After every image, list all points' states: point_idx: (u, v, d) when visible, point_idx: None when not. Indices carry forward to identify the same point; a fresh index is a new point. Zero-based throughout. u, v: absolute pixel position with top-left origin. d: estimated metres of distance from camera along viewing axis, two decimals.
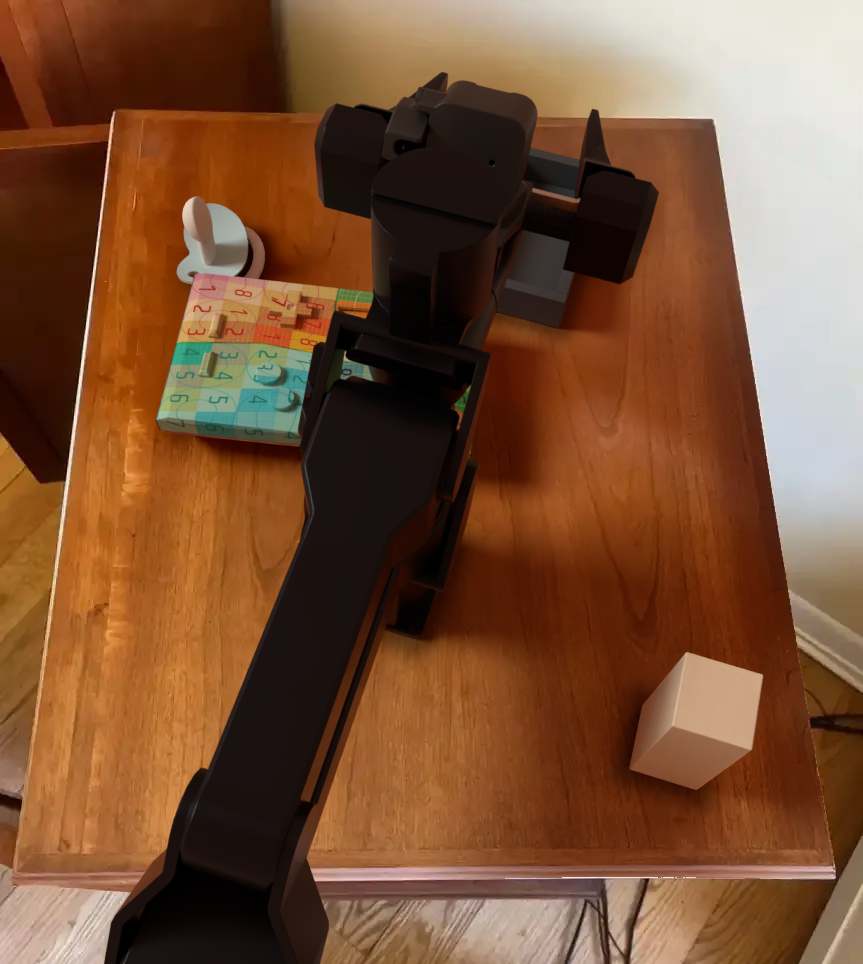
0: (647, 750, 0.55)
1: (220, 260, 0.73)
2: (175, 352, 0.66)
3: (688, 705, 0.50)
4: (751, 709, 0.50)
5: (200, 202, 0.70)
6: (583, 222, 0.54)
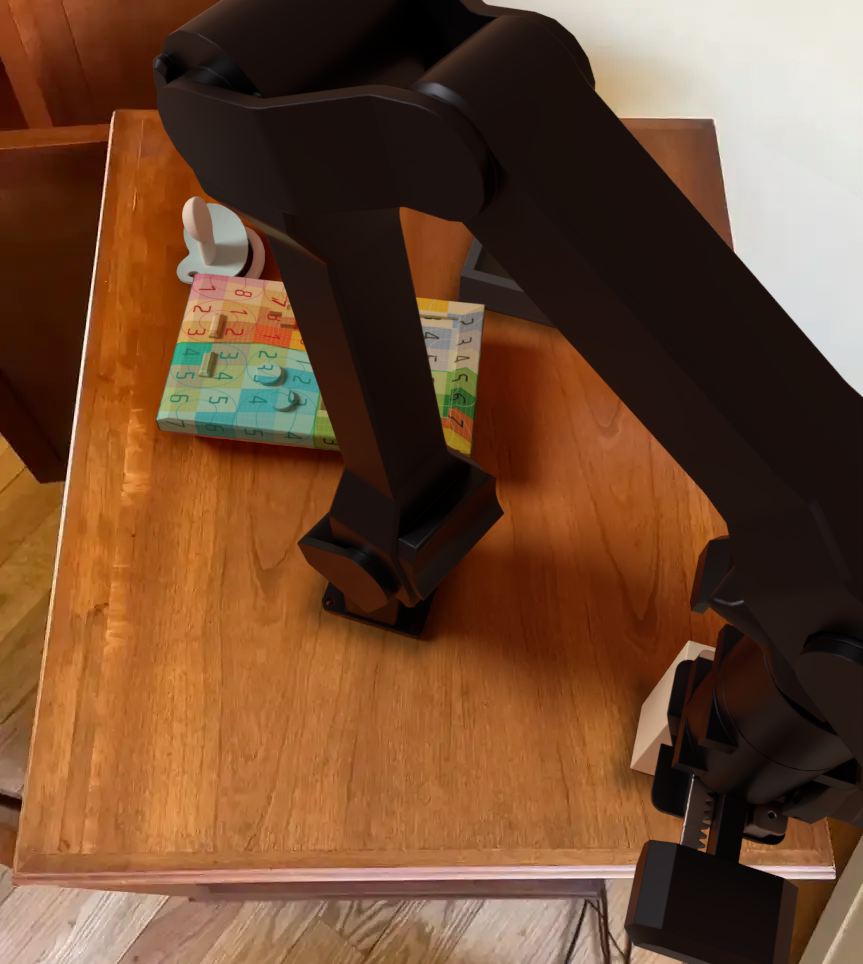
0: (649, 743, 0.55)
1: (220, 260, 0.73)
2: (175, 352, 0.66)
3: None
4: None
5: (200, 202, 0.70)
6: (774, 887, 0.40)
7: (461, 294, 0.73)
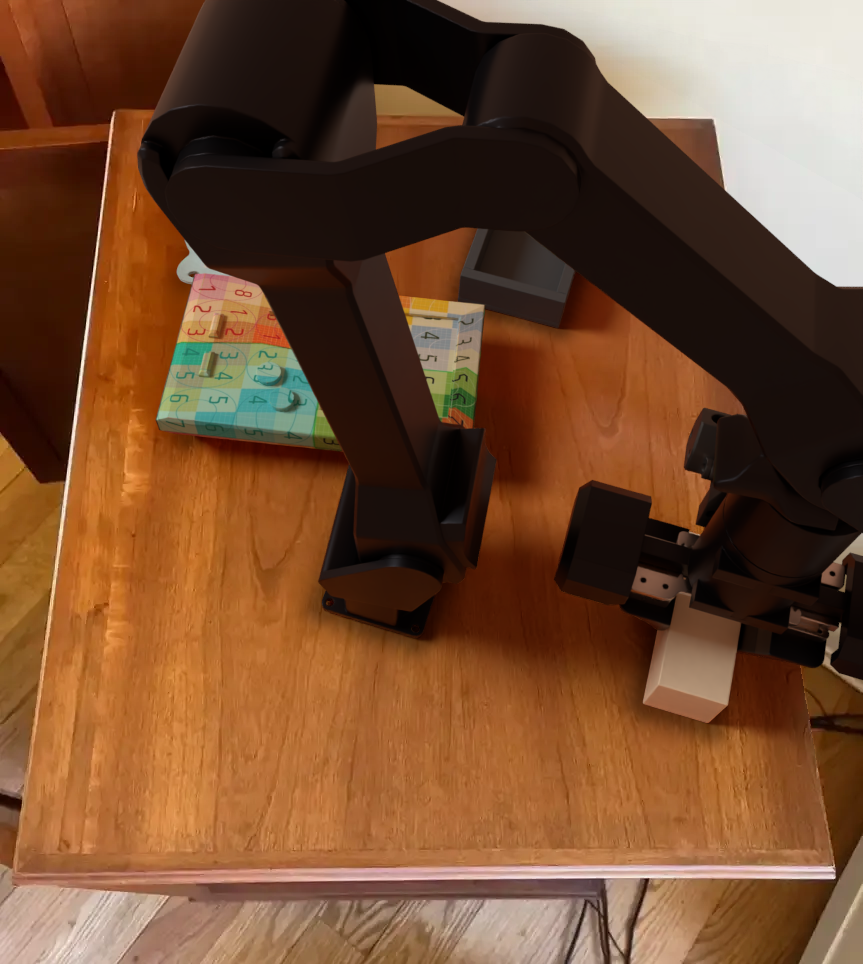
0: None
1: None
2: (175, 352, 0.66)
3: None
4: None
5: None
6: None
7: (461, 294, 0.73)
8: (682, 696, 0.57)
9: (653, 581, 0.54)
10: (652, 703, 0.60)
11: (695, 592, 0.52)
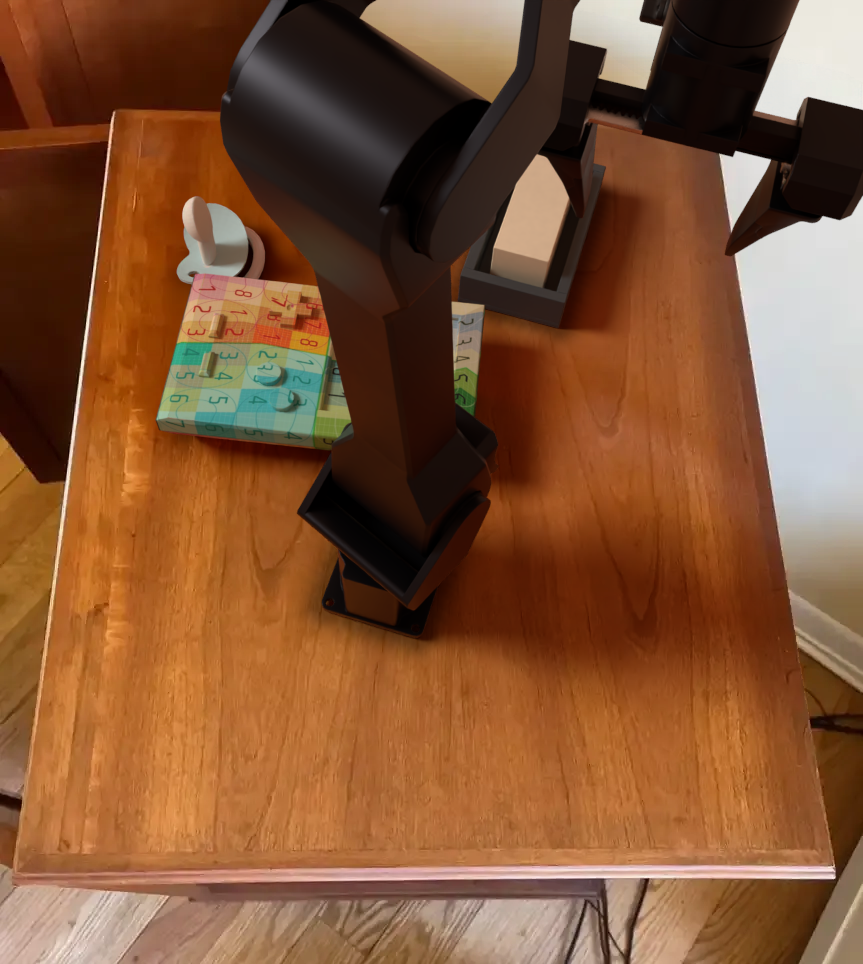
0: None
1: (220, 260, 0.73)
2: (175, 352, 0.66)
3: None
4: None
5: (200, 202, 0.70)
6: (816, 102, 0.53)
7: (461, 294, 0.73)
8: (514, 259, 0.71)
9: None
10: None
11: (647, 114, 0.52)
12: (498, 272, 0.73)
